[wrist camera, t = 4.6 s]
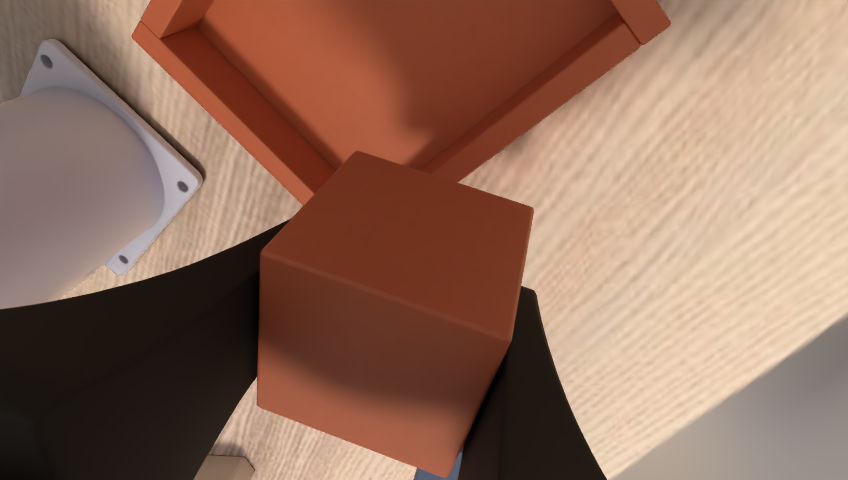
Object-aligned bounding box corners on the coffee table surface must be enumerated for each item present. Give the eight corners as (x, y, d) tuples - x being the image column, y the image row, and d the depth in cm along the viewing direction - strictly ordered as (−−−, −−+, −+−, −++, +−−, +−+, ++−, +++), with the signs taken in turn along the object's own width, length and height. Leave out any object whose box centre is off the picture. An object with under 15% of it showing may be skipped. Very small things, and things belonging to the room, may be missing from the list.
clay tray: (378, 224, 21) (356, 258, 19) (178, 22, 19) (129, 36, 17) (661, 7, 15) (672, 24, 13) (409, -357, 12) (373, -410, 10)
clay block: (482, 336, 14) (447, 481, 11) (335, 285, 15) (254, 407, 11) (535, 206, 12) (512, 339, 8) (355, 148, 12) (258, 250, 9)
